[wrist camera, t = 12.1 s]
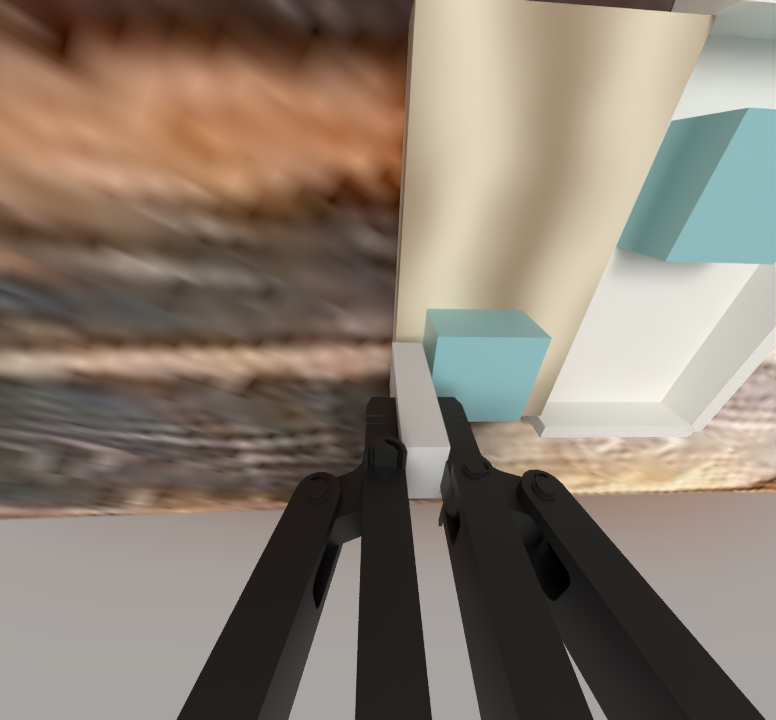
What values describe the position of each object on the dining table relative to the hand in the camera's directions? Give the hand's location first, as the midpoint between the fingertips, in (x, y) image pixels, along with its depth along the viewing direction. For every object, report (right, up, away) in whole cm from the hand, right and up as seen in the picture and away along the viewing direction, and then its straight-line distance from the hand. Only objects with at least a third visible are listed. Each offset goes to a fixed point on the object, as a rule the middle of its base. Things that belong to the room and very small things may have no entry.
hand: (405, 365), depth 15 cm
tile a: (+13, +8, -1) cm, 16 cm away
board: (+5, +5, +1) cm, 7 cm away
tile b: (+4, +1, +1) cm, 4 cm away
